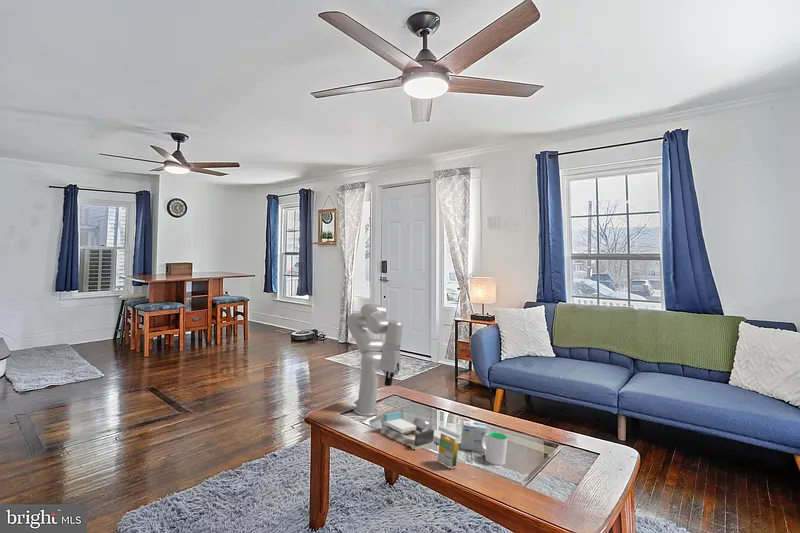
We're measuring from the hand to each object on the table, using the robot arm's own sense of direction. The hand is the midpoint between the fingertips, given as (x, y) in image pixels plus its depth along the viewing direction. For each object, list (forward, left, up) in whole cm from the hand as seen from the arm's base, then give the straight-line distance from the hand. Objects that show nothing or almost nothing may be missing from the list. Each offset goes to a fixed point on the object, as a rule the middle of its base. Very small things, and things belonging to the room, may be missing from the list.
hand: (387, 385), depth 190 cm
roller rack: (+23, +16, -20) cm, 34 cm away
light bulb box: (+38, +20, -20) cm, 47 cm away
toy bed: (+11, 0, -18) cm, 21 cm away
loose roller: (+11, +16, -20) cm, 28 cm away
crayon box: (+43, -5, -20) cm, 47 cm away
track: (+16, 0, -20) cm, 25 cm away
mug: (+49, +18, -20) cm, 56 cm away
